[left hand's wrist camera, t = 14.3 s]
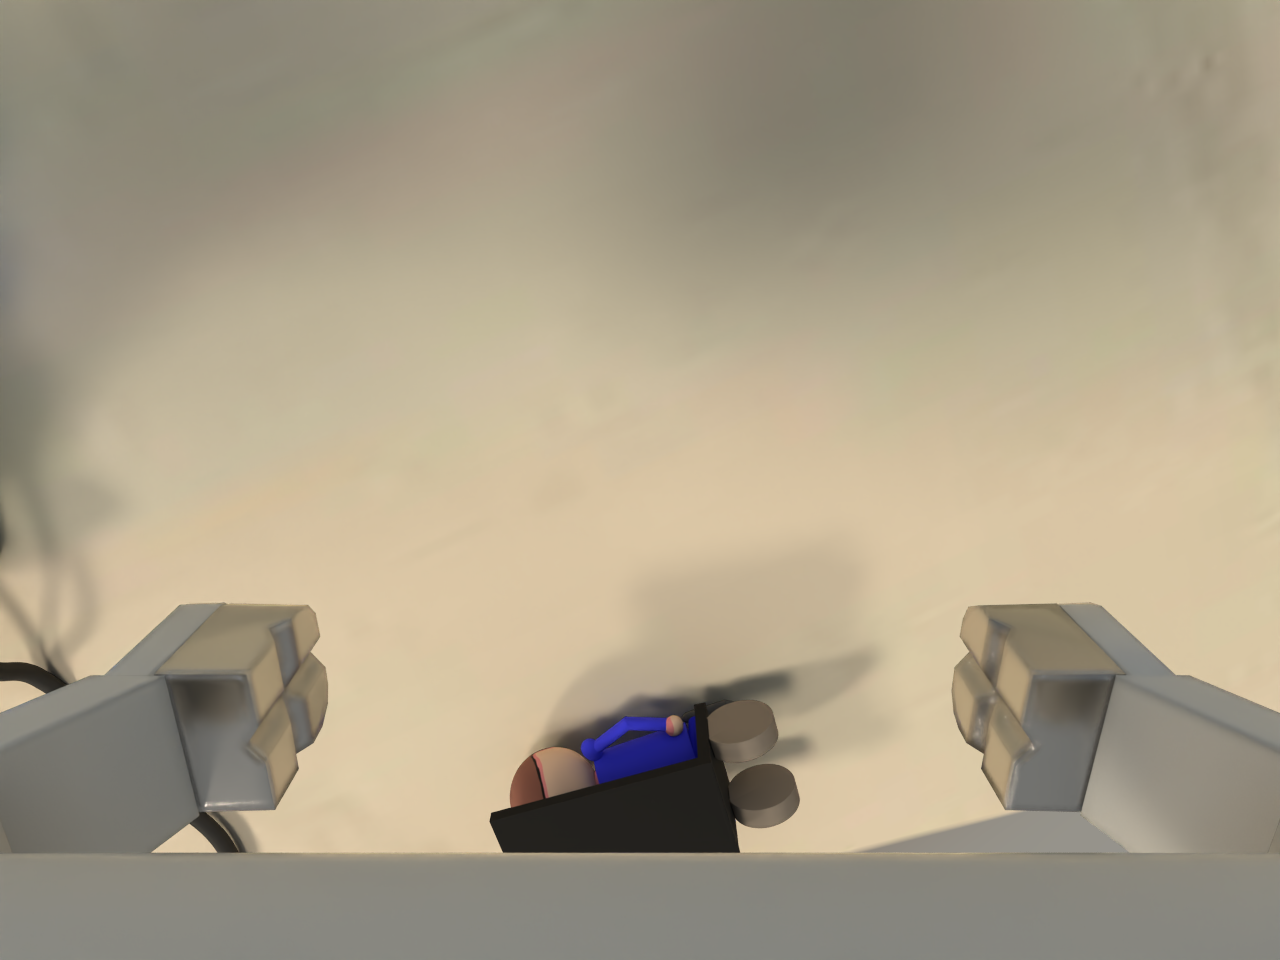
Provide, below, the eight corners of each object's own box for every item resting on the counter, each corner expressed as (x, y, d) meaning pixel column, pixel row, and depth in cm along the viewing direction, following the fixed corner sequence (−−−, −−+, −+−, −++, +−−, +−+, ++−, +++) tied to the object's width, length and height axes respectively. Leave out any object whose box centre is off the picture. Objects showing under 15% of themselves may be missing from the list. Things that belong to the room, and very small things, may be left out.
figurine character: (747, 648, 45) (493, 732, 45) (785, 732, 38) (483, 833, 38) (775, 741, 47) (534, 822, 47) (816, 837, 40) (532, 932, 40)
